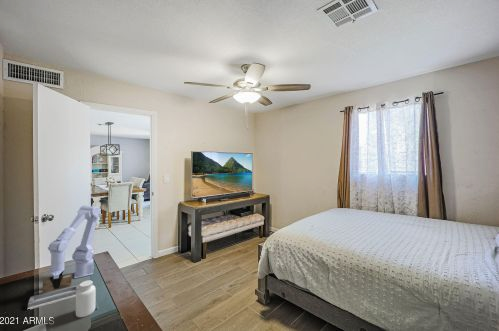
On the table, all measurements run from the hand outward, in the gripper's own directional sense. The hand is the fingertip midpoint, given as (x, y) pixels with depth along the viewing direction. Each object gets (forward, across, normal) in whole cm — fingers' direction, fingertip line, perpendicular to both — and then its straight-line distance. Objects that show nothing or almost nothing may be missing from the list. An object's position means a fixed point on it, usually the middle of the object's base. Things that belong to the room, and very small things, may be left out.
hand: (57, 284), depth 120 cm
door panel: (+3, 0, 0) cm, 3 cm away
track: (+3, +8, 0) cm, 9 cm away
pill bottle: (+4, +28, +13) cm, 31 cm away
